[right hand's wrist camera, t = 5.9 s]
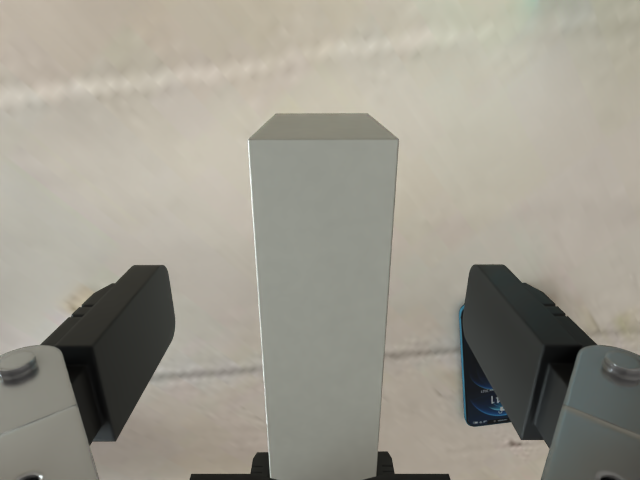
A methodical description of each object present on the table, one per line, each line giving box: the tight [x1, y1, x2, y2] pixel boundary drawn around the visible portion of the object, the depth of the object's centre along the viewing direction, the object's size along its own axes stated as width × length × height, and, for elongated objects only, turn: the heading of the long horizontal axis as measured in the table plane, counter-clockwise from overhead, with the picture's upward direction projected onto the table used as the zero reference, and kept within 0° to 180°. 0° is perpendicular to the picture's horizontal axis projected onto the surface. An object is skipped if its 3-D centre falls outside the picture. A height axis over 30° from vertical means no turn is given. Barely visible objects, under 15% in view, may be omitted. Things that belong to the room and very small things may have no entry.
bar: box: [248, 113, 399, 480], centre depth 23 cm, size 25×5×10 cm, turn 0°
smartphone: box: [459, 305, 511, 427], centre depth 41 cm, size 8×1×15 cm
